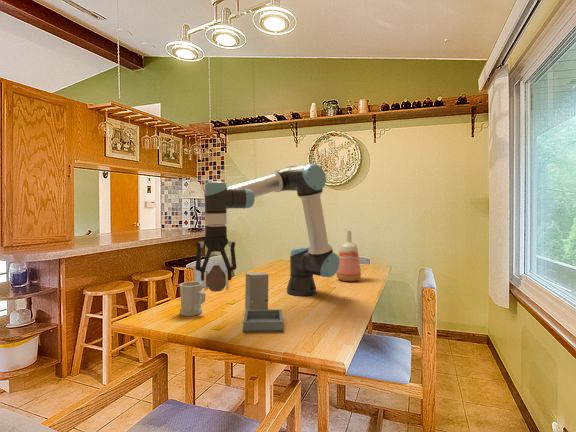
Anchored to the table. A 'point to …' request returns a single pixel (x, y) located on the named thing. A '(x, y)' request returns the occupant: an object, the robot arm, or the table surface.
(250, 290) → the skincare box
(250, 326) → the bin
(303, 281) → the robot arm
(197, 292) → the cup
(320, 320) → the table surface
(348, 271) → the pink tapered bottle
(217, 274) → the vase
